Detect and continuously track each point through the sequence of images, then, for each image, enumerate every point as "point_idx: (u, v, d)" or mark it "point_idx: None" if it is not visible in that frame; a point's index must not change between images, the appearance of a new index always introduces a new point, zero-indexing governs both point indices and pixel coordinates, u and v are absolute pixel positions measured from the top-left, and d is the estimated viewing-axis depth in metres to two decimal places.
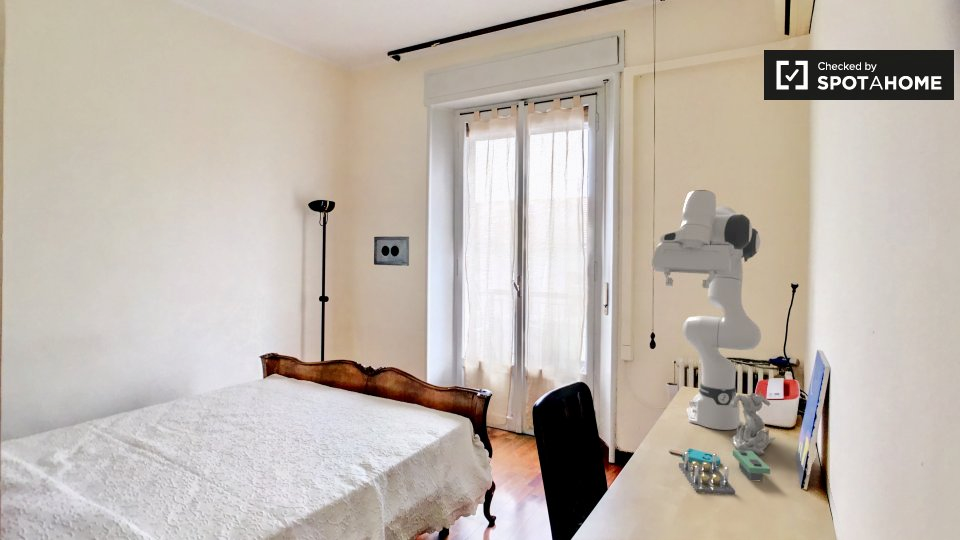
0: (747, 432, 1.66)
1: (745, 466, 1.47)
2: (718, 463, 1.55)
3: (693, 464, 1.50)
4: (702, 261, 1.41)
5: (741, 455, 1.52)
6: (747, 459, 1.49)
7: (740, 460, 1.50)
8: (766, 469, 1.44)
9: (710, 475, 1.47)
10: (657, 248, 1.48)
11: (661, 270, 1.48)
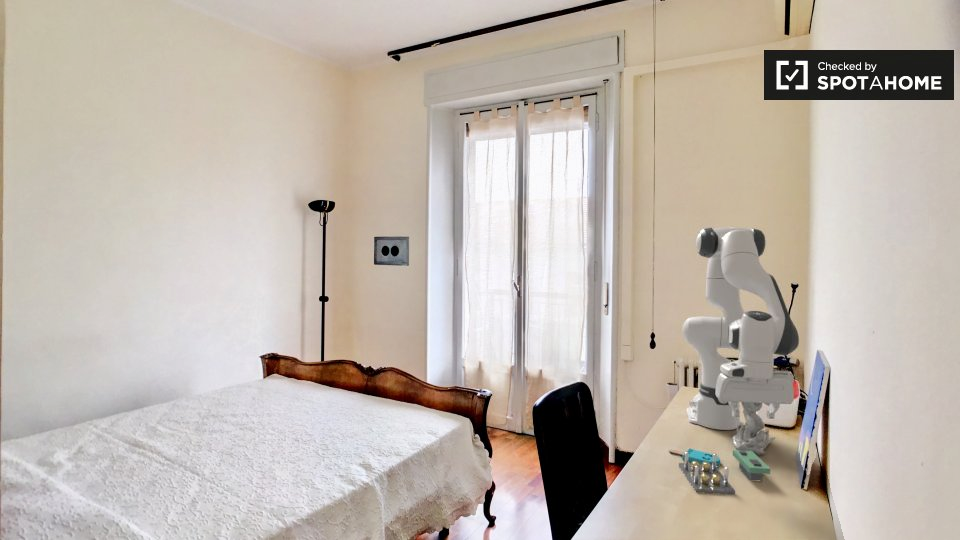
0: (747, 432, 1.66)
1: (745, 466, 1.47)
2: (718, 463, 1.55)
3: (693, 464, 1.50)
4: (769, 396, 1.46)
5: (741, 455, 1.52)
6: (747, 459, 1.49)
7: (740, 460, 1.50)
8: (766, 469, 1.44)
9: (710, 475, 1.47)
10: (725, 383, 1.47)
11: None
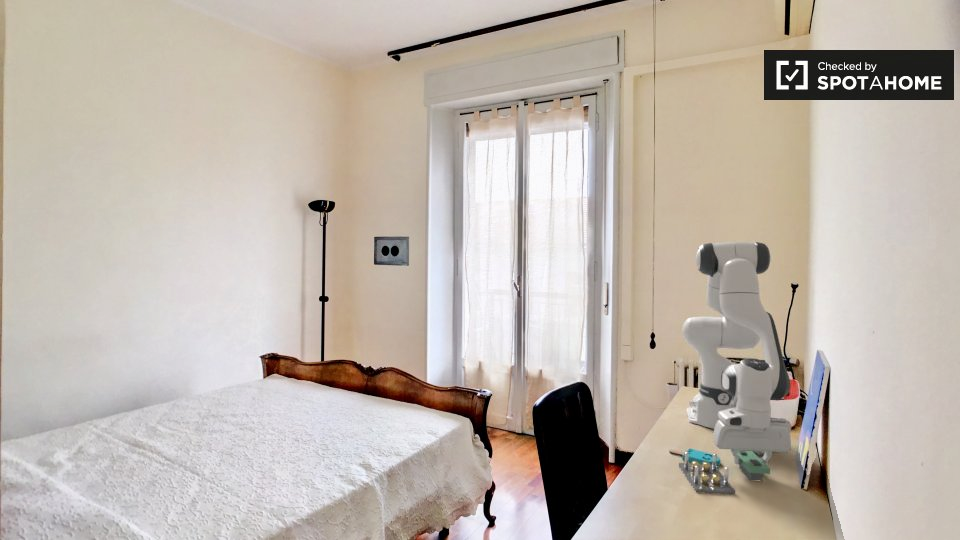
0: None
1: (745, 466, 1.47)
2: (718, 463, 1.55)
3: (693, 464, 1.50)
4: (766, 444, 1.47)
5: (741, 455, 1.52)
6: (747, 459, 1.49)
7: None
8: (766, 469, 1.44)
9: (710, 475, 1.47)
10: (722, 431, 1.48)
11: None
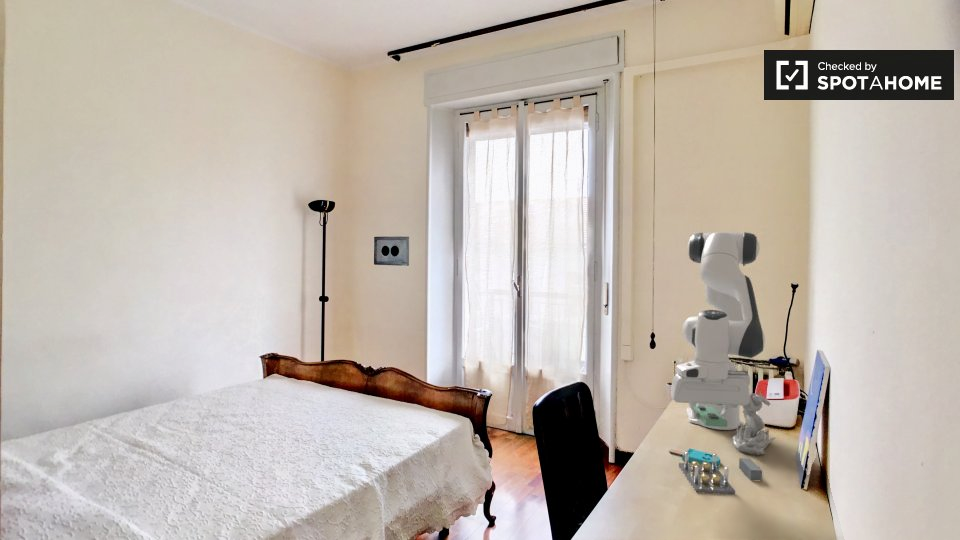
0: (747, 432, 1.66)
1: (702, 419, 1.42)
2: (718, 463, 1.55)
3: (693, 464, 1.50)
4: (724, 397, 1.43)
5: (700, 410, 1.47)
6: (705, 413, 1.45)
7: None
8: (723, 421, 1.39)
9: (710, 475, 1.47)
10: (679, 384, 1.43)
11: None
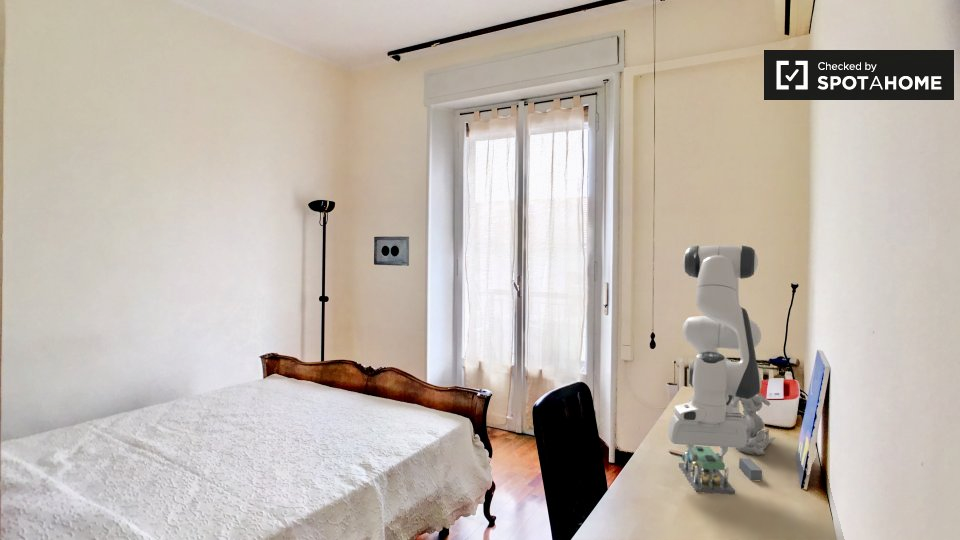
0: (747, 432, 1.66)
1: (700, 462, 1.43)
2: None
3: (693, 464, 1.50)
4: (722, 439, 1.43)
5: (697, 451, 1.48)
6: (702, 455, 1.45)
7: None
8: (720, 464, 1.40)
9: (710, 475, 1.47)
10: (676, 426, 1.44)
11: None
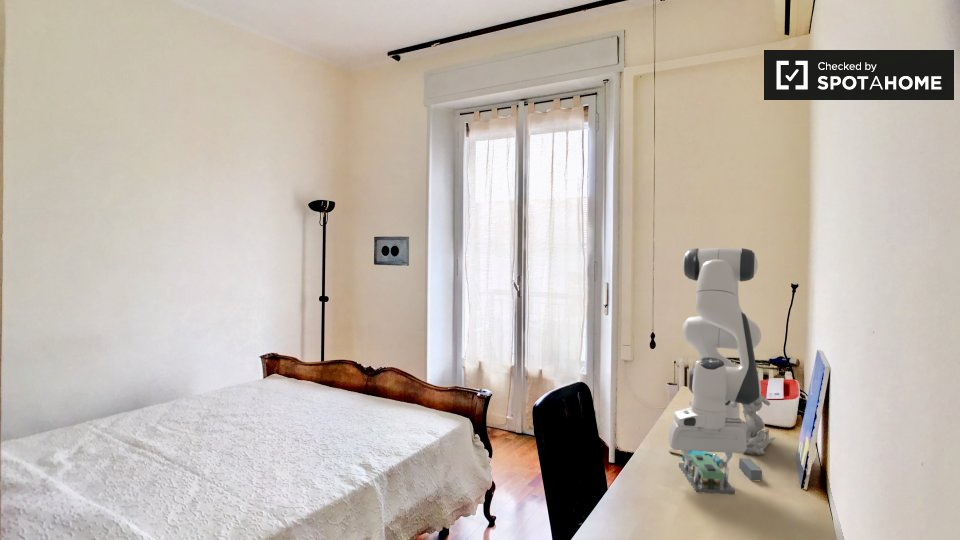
0: (747, 432, 1.66)
1: (699, 471, 1.43)
2: (718, 463, 1.55)
3: None
4: (721, 445, 1.44)
5: (697, 460, 1.48)
6: (702, 464, 1.46)
7: (695, 465, 1.46)
8: (720, 474, 1.40)
9: None
10: (676, 432, 1.44)
11: None
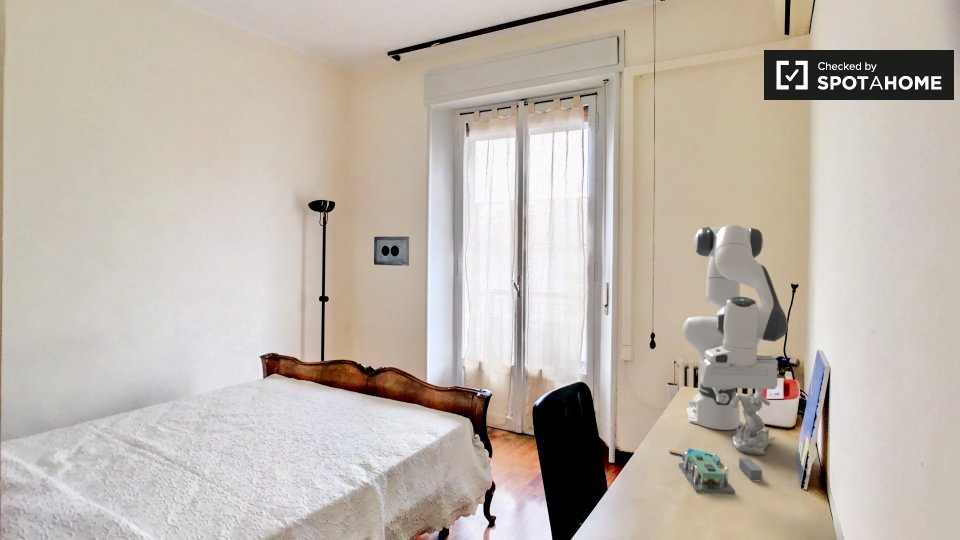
0: (747, 432, 1.66)
1: (699, 471, 1.43)
2: (718, 463, 1.55)
3: None
4: (753, 381, 1.47)
5: (697, 460, 1.48)
6: (702, 464, 1.46)
7: (695, 465, 1.46)
8: (720, 474, 1.40)
9: None
10: (708, 369, 1.47)
11: None
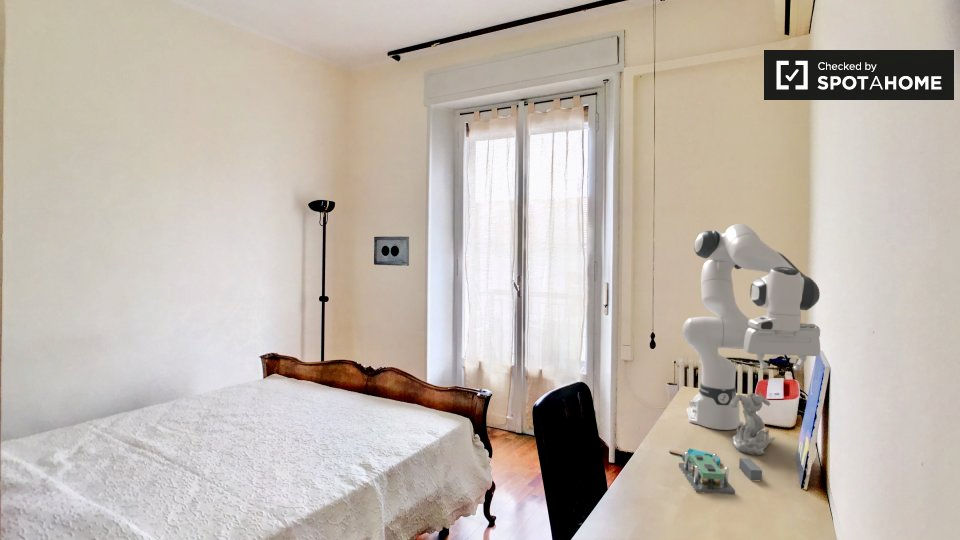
0: (747, 432, 1.66)
1: (699, 471, 1.43)
2: (718, 463, 1.55)
3: None
4: (796, 348, 1.52)
5: (697, 460, 1.48)
6: (702, 464, 1.46)
7: (695, 465, 1.46)
8: (720, 474, 1.40)
9: None
10: (753, 336, 1.52)
11: None
